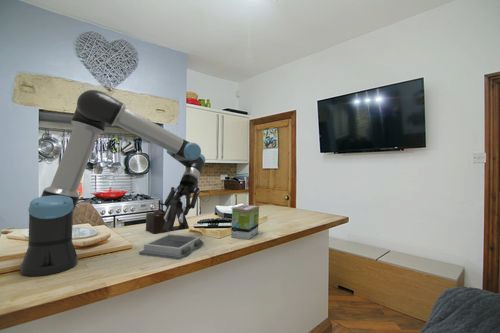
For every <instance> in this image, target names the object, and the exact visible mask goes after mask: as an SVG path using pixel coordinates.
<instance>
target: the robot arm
mask: <svg viewBox="0 0 500 333" xmlns="http://www.w3.org/2000/svg"><path fill="white" fill-rule="evenodd" d="M70 123H71V125H72V126H73V128H72V131H71V133H70V135H69V138H68V142H67V144H66V146H65V147H64V148H65V149H64V150H63V154H62V156H61V159H60V161H59V163H58V166H57V169H56V171H55V174H54V176H53V179H52V181H51V183H50V185H49V186H48V187H45V188H44V189H43V191H42V194H41V195H40V197H35V198H33V199H31V201H30V202H29V207H28V210H27V211H28V214H29V215H28V244H27V246H28V247H27V250H26V252H25V255H24V257H23V259H22V262H21V264H20V270H19V271H20V274H21V275H22V276H27V277H38V276H40V277H41V276H47V275H53V274H58V273H61V272H64V271H67V270H70V269H72V268H74V267H75V266H77V265H78V263H79V262H78V260H79V258H78V257H79V256H78V254H77V251H76V248H75V245H74V243H73V224H74V223H73V221H74V220H73V219H74V218H73V217H74V213H75V210H76V207H77V204H78V201H79V198H80V195H79V193H78V189H79V186H80V184H81V181H82V178H83V175H84V172H85V170H86V167H87V164H88V163H89V159H90V157H91V154H92V152H93V149H94V147H95V144H96V140H97V139H98V136H99V135H101V134H103V133H104V132H105V129H106V126H107V125H109V126H112V127H114V126H118V127H119V128H121V129H123V130H125V131H128V132H129V133H132V134H134V135H136V136H138V137H140V138H142V139H144V140H146V141H148V142H150V143H151V144H153V145H156V146H158V147H160V148H162V149H164V150H166V153H167V154H168V155H170V157H171V158H173V159H174V160H176V161H177V162H178V163H180V164H181V165H183V166H184V167H185V170H184V172H183V174H182V176H181V179H180V182H179V184H178V186H177V187H174V186H172V187H170V192H169V193H168V196H167V197H166V199H165V201H164V203H163V204H165V205H164V206H165V207H166V209H165V210H164V211H165V213H166V214H165V217H164V220H165V221H167V219H168V215H169V211H170V206H171V204H170V202H171V200H179V198H180V199H182V197H183V196H184V197H185V205H183V206H182V208H183V212H184V214H185V216H188V214H189V212H190V210H191V209H193V210H194V209H195V207H196V204H197V201H198V196H199V195H200V194H201V190H200V188H199V187H197V185H198V182H199V179H200V176H201V174H202V172H203V168H204V167H205V164H206V157H205V156H204V154H202V150H201V147H200V145H199V144H198V143H195V142H190V141H188V140H186V139H184V138H182V137H181V136H178V135H177V134H175V133H173V132H171V131H169V130H167V129H166V128H164V127H162V126H160V125H158V124H157V123H155V122H153V121H151V120H150V119H147V118H146V117H143V116H142V115H139V113H136V112H134V111H132V110H130V109H129V108H127V107H126V105H125V103H123V102H122V101H120V100H118V99H116V98H115V97H112V96H110V95H109V94H107V93H105V92H103V91H101V90H97V89H89V90H86V91H84V92H82V93H80V95H79V96H78V98H77V101H76V108H75V111H74V113H73V116H72V118H71V122H70ZM192 193H193V194H192ZM191 198H192V199H191ZM179 221H180V222H181V223H183V213H182V214H181V215H180V217H179ZM179 221H178V222H179Z"/></svg>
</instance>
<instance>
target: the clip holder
mask: <svg viewBox="0 0 500 333" xmlns="http://www.w3.org/2000/svg"><path fill="white" fill-rule="evenodd" d="M203 245H204V241H202V240H201V237H200V236H192V235H191V236H189V235H180V234H173V233H172V234H171V233H170V234H166V235H162V236H161V237H159V238H157V239H154V240H151V241H149V242H147V243H145V244H144V245H143V250H140V251H138V255H141V256H142V255H143V256H147V257H149V256H150V257H155V258H156V257H157V258H165V259H173V260H182V259H184V258H185V257H187V256H188V255H190V254H191V253H193V252H194V251H196V250H197V249H199V248H201V247H202V246H203Z"/></svg>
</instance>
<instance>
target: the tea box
mask: <svg viewBox="0 0 500 333" xmlns="http://www.w3.org/2000/svg"><path fill="white" fill-rule="evenodd" d="M231 210H232V211H231V212H232V214H231V231H230V237H231V238H234V239H241V240H250V239H252V237H254V236H255V235H257V234H258V233H259V219H260V218H259V217H260V206H259V205H249V204H240V205H238V206H235V207H233V208H231Z"/></svg>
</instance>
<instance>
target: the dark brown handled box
mask: <svg viewBox="0 0 500 333" xmlns="http://www.w3.org/2000/svg"><path fill="white" fill-rule="evenodd" d="M181 199H182V198H179V201H181V202H182V200H181ZM161 201H162V200H161V199H158V208H157V209H156V210H155V211H153V212H147V213H146V215H145V216H146V218H145V231H147V232H148V233H151V234H154V235H157V234H162V233H163V234H164V233H166V232H168V231H167V230H165V229H163V226H164V224H165V220H164V217H165V214H166V213H165V211H166V210H164V209H161V206H165V204H164V203H162V202H161Z"/></svg>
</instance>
